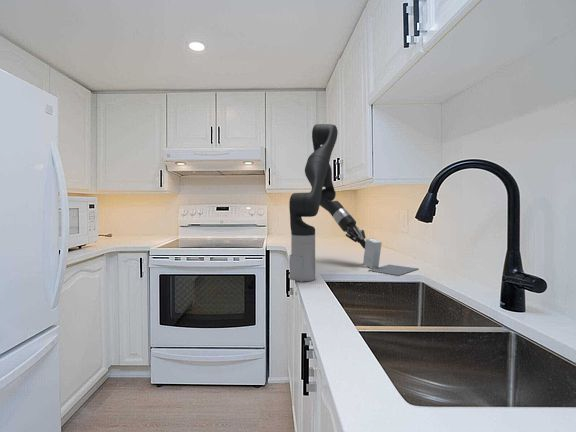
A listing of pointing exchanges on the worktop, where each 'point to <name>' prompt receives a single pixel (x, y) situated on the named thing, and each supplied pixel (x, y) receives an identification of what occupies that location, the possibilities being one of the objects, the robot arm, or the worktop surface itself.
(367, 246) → the skincare box
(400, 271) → the slate mat
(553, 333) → the worktop surface
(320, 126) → the robot arm
